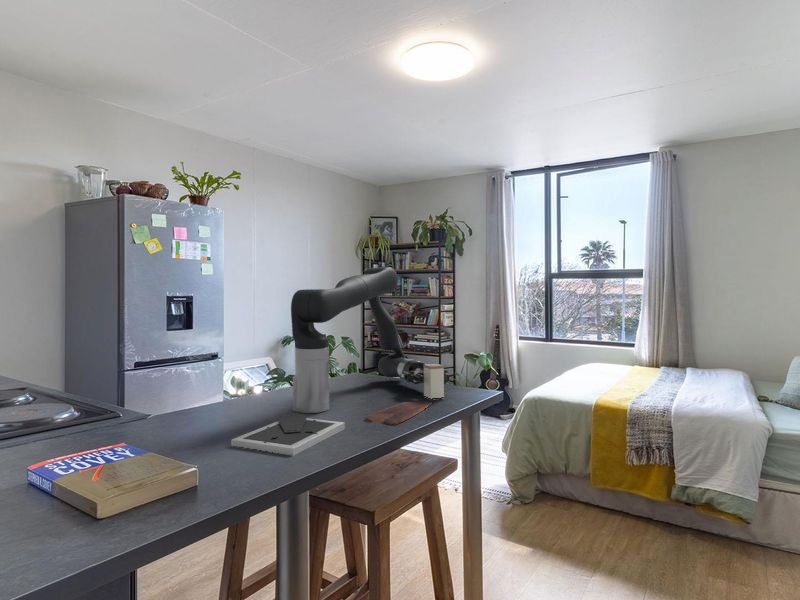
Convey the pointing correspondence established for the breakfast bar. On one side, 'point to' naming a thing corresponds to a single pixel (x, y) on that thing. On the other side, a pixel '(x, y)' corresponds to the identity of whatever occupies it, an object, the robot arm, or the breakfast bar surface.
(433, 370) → the cream block
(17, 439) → the breakfast bar surface
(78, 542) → the breakfast bar surface
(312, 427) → the picture frame
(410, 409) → the wooden tablet
